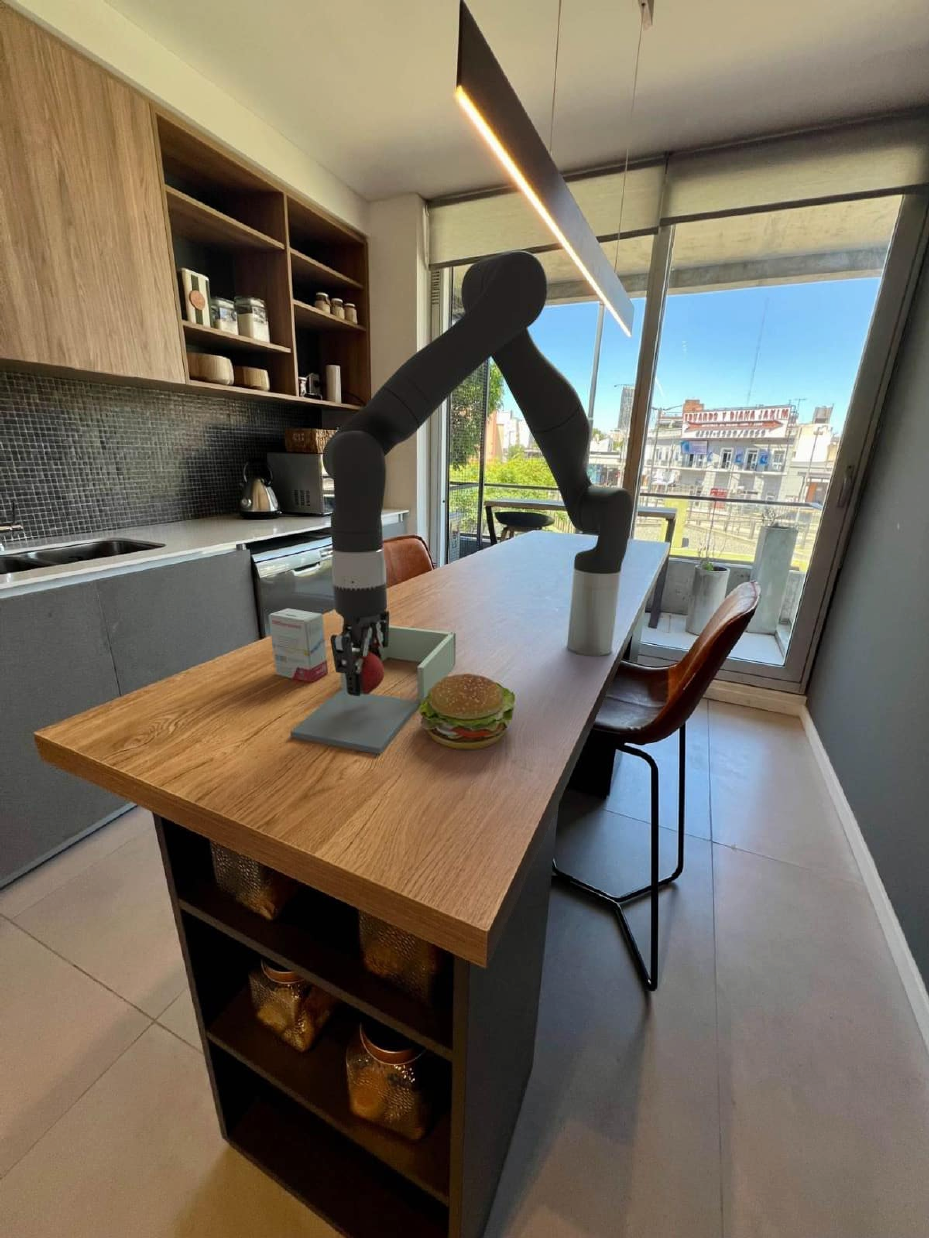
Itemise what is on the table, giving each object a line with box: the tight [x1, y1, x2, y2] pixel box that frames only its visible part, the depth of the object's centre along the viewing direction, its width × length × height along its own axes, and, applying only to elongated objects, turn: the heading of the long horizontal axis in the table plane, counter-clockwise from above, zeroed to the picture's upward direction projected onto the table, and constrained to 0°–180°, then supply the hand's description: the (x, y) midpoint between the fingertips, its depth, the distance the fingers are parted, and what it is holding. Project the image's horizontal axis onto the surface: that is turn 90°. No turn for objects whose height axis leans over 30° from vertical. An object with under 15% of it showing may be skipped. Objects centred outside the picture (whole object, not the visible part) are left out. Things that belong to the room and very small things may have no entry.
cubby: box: [339, 624, 457, 705], centre depth 88 cm, size 17×15×6 cm
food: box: [416, 673, 516, 750], centre depth 71 cm, size 14×14×8 cm
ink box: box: [268, 608, 329, 683], centre depth 88 cm, size 9×5×12 cm, turn 65°
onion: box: [345, 647, 385, 695], centre depth 75 cm, size 6×6×8 cm
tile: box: [289, 688, 420, 756], centre depth 74 cm, size 14×14×1 cm
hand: (365, 684), depth 76 cm, fingers closed on onion, 6 cm apart
